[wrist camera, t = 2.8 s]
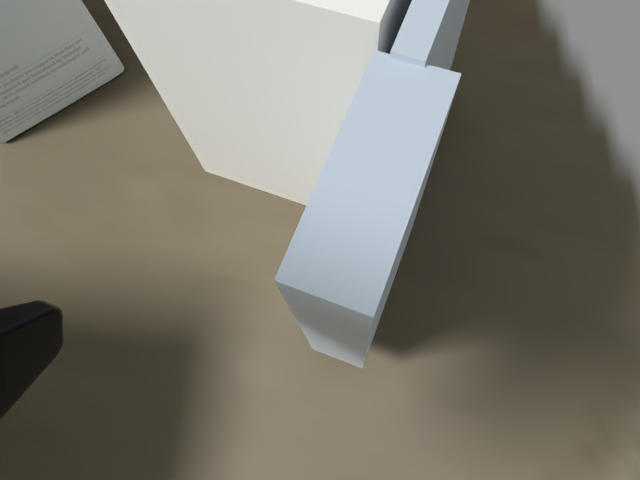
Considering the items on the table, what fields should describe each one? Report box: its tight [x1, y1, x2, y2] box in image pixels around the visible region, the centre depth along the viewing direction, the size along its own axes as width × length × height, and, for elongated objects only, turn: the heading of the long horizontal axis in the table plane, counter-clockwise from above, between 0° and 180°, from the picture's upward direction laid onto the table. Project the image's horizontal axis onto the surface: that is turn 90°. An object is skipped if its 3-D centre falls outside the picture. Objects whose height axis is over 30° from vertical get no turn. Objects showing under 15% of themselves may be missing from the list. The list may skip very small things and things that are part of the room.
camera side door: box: [274, 0, 470, 368], centre depth 16 cm, size 14×2×11 cm, turn 159°
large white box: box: [104, 0, 412, 206], centre depth 18 cm, size 9×8×13 cm
